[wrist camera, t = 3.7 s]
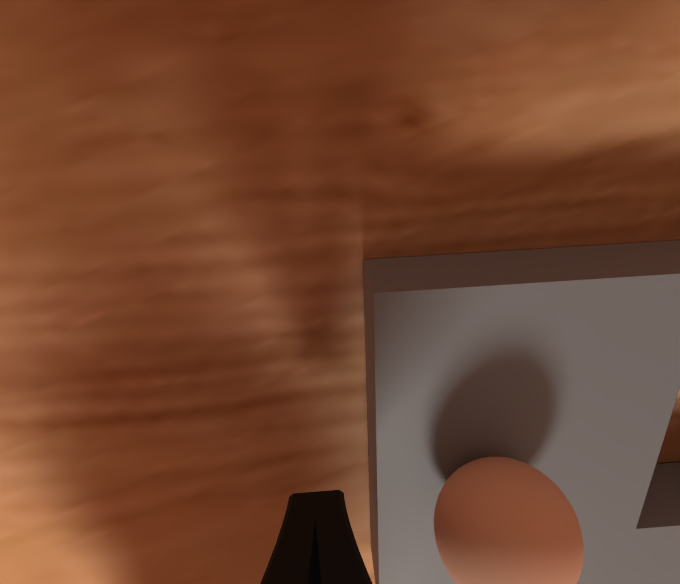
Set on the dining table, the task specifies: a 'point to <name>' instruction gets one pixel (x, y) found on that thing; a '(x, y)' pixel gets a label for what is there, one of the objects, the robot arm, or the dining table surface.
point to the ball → (506, 526)
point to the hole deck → (527, 395)
